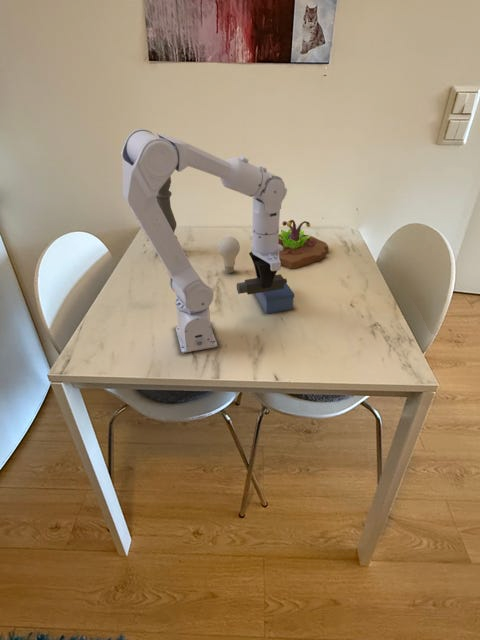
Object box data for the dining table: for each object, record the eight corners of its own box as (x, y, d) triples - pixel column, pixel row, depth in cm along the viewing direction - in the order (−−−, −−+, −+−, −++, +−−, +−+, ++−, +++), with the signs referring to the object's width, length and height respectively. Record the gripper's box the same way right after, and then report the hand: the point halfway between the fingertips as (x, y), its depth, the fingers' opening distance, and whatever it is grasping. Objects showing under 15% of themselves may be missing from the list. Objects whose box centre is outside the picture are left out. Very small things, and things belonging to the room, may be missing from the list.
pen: (284, 282, 99) (284, 273, 98) (287, 288, 97) (288, 278, 96) (236, 290, 97) (236, 281, 95) (239, 296, 95) (239, 286, 93)
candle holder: (183, 251, 130) (175, 170, 116) (170, 258, 126) (160, 176, 111) (168, 246, 133) (158, 167, 118) (155, 254, 129) (144, 173, 114)
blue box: (293, 309, 103) (294, 294, 100) (265, 314, 101) (266, 298, 98) (279, 289, 111) (280, 274, 108) (253, 293, 109) (253, 278, 106)
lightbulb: (244, 272, 119) (244, 236, 112) (229, 279, 115) (228, 243, 109) (229, 265, 122) (228, 230, 116) (214, 272, 118) (212, 237, 112)
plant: (247, 251, 129) (247, 217, 123) (289, 234, 140) (291, 202, 134) (295, 274, 117) (297, 237, 111) (336, 253, 128) (341, 219, 121)
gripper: (295, 240, 84) (291, 296, 91) (271, 215, 95) (270, 267, 103) (263, 245, 82) (261, 302, 90) (242, 219, 93) (243, 271, 101)
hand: (264, 284), depth 96 cm, fingers closed on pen, 2 cm apart
